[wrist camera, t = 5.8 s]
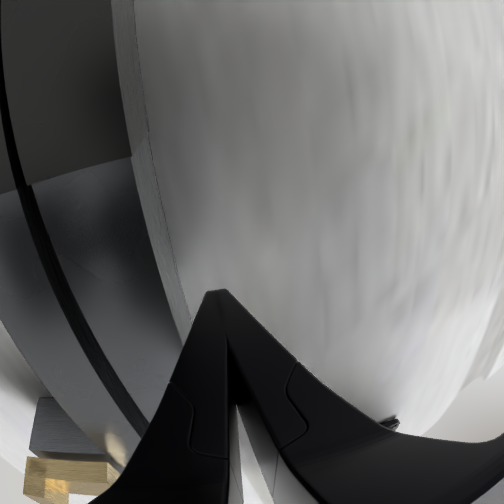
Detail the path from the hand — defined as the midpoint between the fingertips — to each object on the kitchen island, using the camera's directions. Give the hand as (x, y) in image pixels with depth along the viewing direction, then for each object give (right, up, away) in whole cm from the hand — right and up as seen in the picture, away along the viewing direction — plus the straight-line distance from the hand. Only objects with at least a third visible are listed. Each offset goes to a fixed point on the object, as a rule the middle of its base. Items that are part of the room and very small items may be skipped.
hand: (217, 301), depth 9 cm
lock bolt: (-7, -8, +1) cm, 11 cm away
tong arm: (-3, -2, +2) cm, 4 cm away
